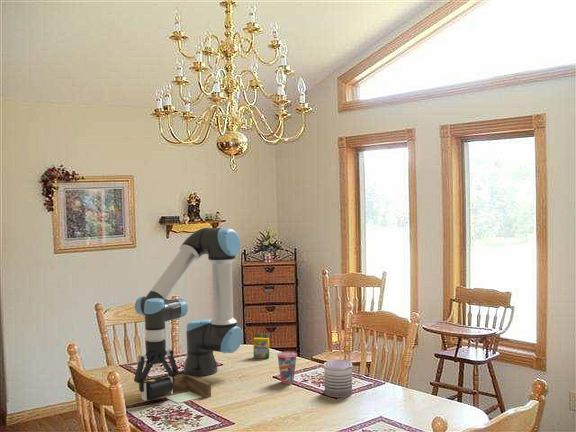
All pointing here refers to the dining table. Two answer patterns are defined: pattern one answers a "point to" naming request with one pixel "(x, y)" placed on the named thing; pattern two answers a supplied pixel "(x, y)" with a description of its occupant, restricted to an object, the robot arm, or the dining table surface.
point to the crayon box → (261, 346)
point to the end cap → (158, 388)
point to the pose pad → (183, 397)
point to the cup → (287, 366)
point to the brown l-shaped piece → (192, 385)
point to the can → (338, 378)
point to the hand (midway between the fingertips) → (157, 396)
